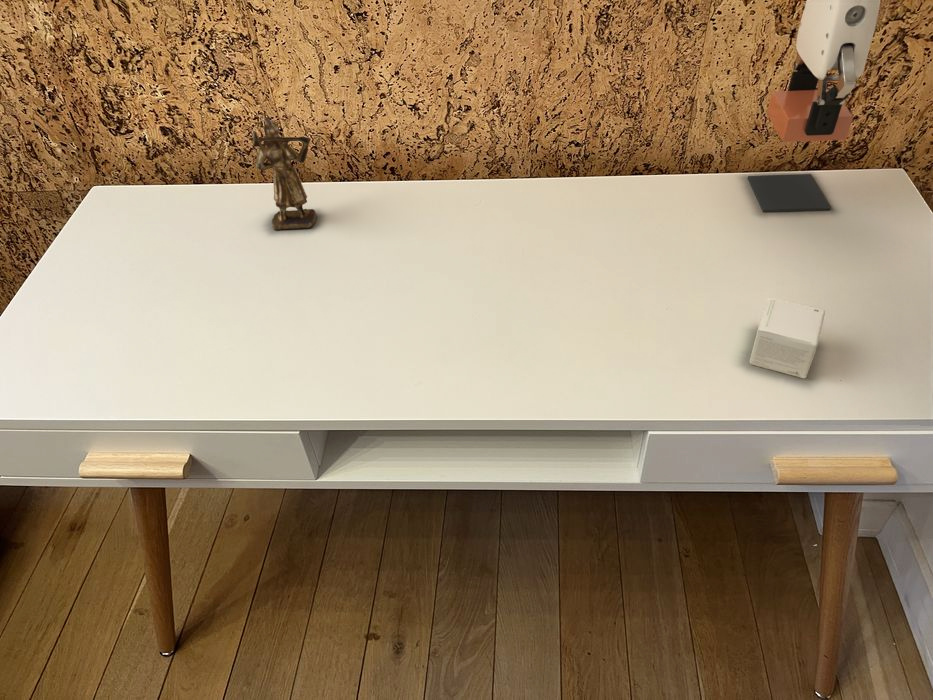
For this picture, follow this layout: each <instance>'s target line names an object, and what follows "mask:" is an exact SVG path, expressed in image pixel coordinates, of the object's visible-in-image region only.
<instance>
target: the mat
mask: <svg viewBox="0 0 933 700" xmlns="http://www.w3.org/2000/svg"><path fill="white" fill-rule="evenodd" d="M747 181H748V183H749V185H750V187H751V189H752V191H753V193H754V196H755V198H756V200H757V202H758V204H759V206H760V209H761V211H762V213H782V212H783V213H784V212H786V213H787V212H815V211H817V212H819V211H831V209H832V208H831V206H830V204H829V202H828V200H827V198H826V197H825V196H824V194H823V192H822V190H821V188H820V187H819V185H818V183H817V182H816V179H815V178H814V177H813V174H812V173H797V174H795V173H794V174H763V175H747Z"/></svg>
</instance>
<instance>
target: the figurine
mask: <svg viewBox="0 0 933 700" xmlns="http://www.w3.org/2000/svg"><path fill="white" fill-rule="evenodd" d="M264 121H265V122H264V125H263V133H264V137H259V136H258V133H257V131H255V130H253V131H252V137H248V141H252V145H251V147H253V148H257V147H258V149H257V155H256V158H255V167H256V169H257V170H259V171H265V170H270V169H272V176H273V177H272V178H273V200H274V203H275V207H276V208H278V209H279V210H278V211H277V212H276V213H275V214H274V215H273V217H272V220H271V226H272V228H273V230H274V231H279V230H280V231H281V230H291V229H308V228H311V227H313V226H314V225H315V223H316V222H317V219H318V216H317V215H318V214H317V212H316V209H313V208H309V209H308V208H303V205H305V204H307V203H308V200H307V199H308V195H307V193H306V191H305V188H304V186H303V183H302V181H301V177H300V175H299V173H298V171H297V169H296V168H295V167H294V166H293V165H292V161H294V162H297V163H300V164H304V163H305V161H306V158H307V156H308V153H309V146H310V142H311V137H307V136H292V137H291V136H288V137H287V136H280V132H279V131H280V129H279V125H277V123H275V122H274V121H272V120H271V119H270V118H269V117H267V116H266V117H264ZM262 142H263V143H262ZM290 142H301V143H302V144H301V148H300V150H299V153H298V152H296V151H295V150H294V149H293V148H292V147H291V145H289V143H290ZM267 160H268V161H269V162H266V161H267ZM288 208H295V210H287V209H288Z"/></svg>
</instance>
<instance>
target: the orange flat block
mask: <svg viewBox="0 0 933 700" xmlns="http://www.w3.org/2000/svg"><path fill="white" fill-rule="evenodd" d="M830 89H831V88H829V89H827V88H826V92H827V91H828V90H830ZM817 90H818V89H816V90H800V91H788V90H778V91H777V90H776V91H772V92H771V95H770V99H769V104H768V108H767V112H766V115H767V116H768V118H769V120H770V122H771V124H772V125H773V127H774V129H775V131H776V133H777V134H778V136H779V139H780V140H781V142H782V143H795V142H796V143H797V142H800V143H801V142H824V141H825V142H826V141H846V140H847V137H848V134H849V132H850V131H849V130H850V129H851V125H852V122H853V119H854V116H853V114H852V112H851V111H850V110H849V109H848V107H847V106H846V104H845V103H844V104H843V105H842V107H841V110H840V113H839V117H838V120H837V123H836V126H835V129H834V132H833V134H831V135H811V136H808V135H806V134H805V128H806V124H807V120H808V117H809V113H810V110H811V106H812V103H813V102H817Z"/></svg>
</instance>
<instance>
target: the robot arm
mask: <svg viewBox="0 0 933 700" xmlns="http://www.w3.org/2000/svg"><path fill="white" fill-rule="evenodd" d="M881 1H882V0H806V2H805V5H804V8H803V11H802V12H803V13H802V15H801V19H800V23H799V27H798V31H797V36H796V42H795V49H796V54H797V56H796V57H795V59H794V61H793V65H792V69H793V71H792V72H791V75H790V76H791V77H790V79H789V84H788V87H787V91H800V90H817V102H813V103H812V106H811V110H810V113H809V117H808V120H807V124H806V128H805V134H806V135H808V136H811V135H831V134H833V132H834V129H835V126H836V123H837V120H838V117H839V113H840V110H841V107H842V105H843V104H844V105H845V103H846V99H847V98H848V97H849V95H850V94H851V92H852V91H853V90H854V88H855V87H856V86H857V85H856V84H857V79H859V78H860V77H861V76H863V75H862V74H863V73H864V70H865V67H866V63H867V59H868V56H869V52H870V49H871V45H872V41H873V38H874V33H875V30H876V26H877V21H878V17H879V11H880V6H881ZM828 71H838V72H837V73H838V74H827V73H828ZM828 82H837V83H836V84H835V86H832V87H831V88H829V89H830V90H828V91H827V92H826V89H827V88H828V87H827V86H828Z"/></svg>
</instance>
